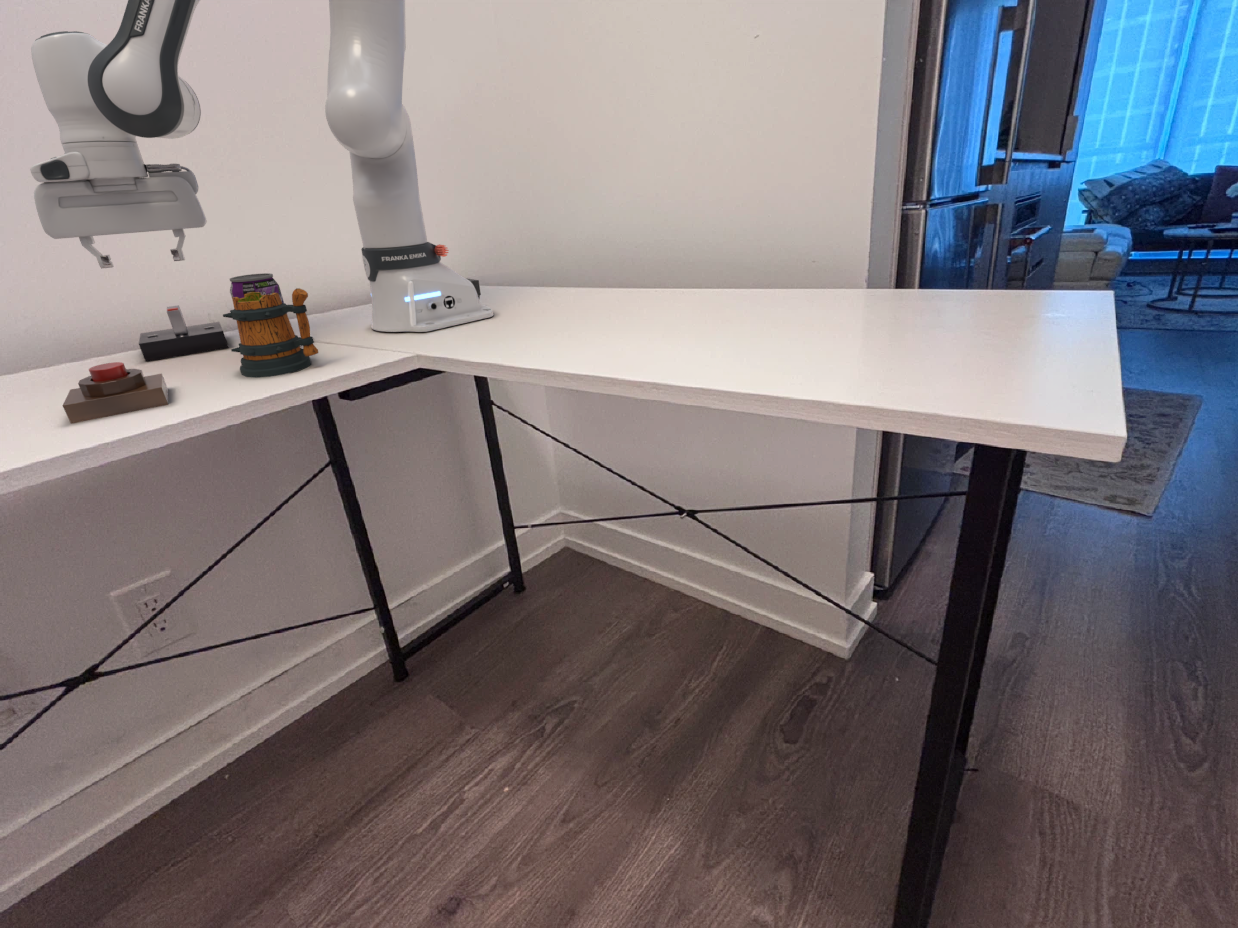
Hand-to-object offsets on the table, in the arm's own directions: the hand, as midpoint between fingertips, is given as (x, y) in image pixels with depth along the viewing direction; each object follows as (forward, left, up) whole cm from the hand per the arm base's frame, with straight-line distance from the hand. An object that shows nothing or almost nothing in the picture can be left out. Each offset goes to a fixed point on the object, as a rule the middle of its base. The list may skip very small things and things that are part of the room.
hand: (144, 264), depth 97 cm
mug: (-13, +22, -15) cm, 30 cm away
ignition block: (+7, +26, -15) cm, 30 cm away
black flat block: (-1, -5, -15) cm, 16 cm away
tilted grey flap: (-1, -5, -12) cm, 13 cm away
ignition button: (+7, +26, -11) cm, 29 cm away
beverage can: (-13, +8, -15) cm, 22 cm away
